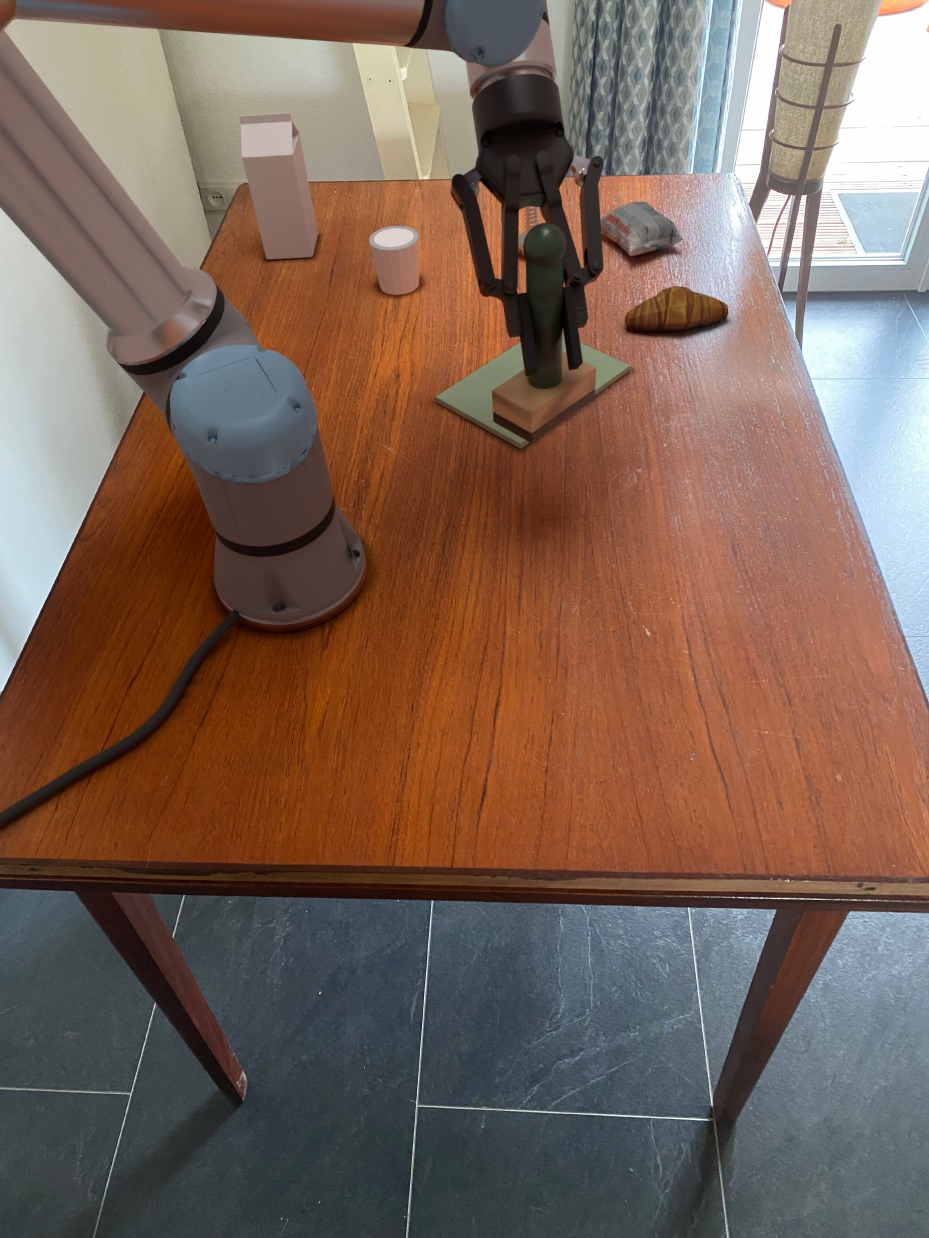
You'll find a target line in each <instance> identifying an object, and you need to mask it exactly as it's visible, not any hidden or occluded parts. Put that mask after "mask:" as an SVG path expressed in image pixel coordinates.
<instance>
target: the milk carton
mask: <svg viewBox="0 0 929 1238" xmlns="http://www.w3.org/2000/svg"><path fill="white" fill-rule="evenodd" d="M238 118H239V123H240V143H241V160H242V163H243V167H244V171H245V176H246V181H247V185H248V188H249V192H250V193H249V194H250V197H251V201H252V205H253V206H252V207H253V210H254V214H255V217H256V221H257V226H258V231H259V234H260V239H261V243H262V249H263V251H264V256H265V259H266V260H283V259H302V258H303V259H304V258H313V257H314V253H315V249H316V245H317V242H318V236H319V231H318V225H317V220H316V215H315V209H314V205H313V198H312V193H311V187H310V182H309V178H308V172H307V166H306V162H305V156H304V151H303V145H302V140H301V135H300V132H299V130H298V128H297V127H296V125H295V124H294V122H293V119H292V114H291V112H289V111H288V112H277V113H259V114H257V113H256V114H241V115H239V116H238Z"/></svg>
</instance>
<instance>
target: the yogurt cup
mask: <svg viewBox="0 0 929 1238" xmlns="http://www.w3.org/2000/svg"><path fill="white" fill-rule="evenodd" d="M419 237H420V235H419V232H418V231H417V230H416V229H415V228H412V227H410V226H403V225H390V226H386V227H382V228H380V229H378V230H376V231H374V232H372V234H371V235H370V236H369V240H368V243H369V247H370V251H371V255H372V260H373V263H374V267H375V272H376V277H377V281H378V284H379V288H380V289H381V291H382V292H383V293H385V294H387V295H393V296H398V295H399V296H401V295H407V294H410V293H412V292H413V291H416V289H417V288H418V287H419V286H420V251H419V250H420V247H419V246H420V242H419V241H420V240H419V239H420V238H419Z"/></svg>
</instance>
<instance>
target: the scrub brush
mask: <svg viewBox="0 0 929 1238" xmlns="http://www.w3.org/2000/svg"><path fill="white" fill-rule="evenodd" d="M566 250H567V241H566V237H565V235H564V233H563V232H562V230H561V229H560V228H559V227H557V226H556V225H554V224H551V223H546V222H541V223H538V225H535V226H534V227H532V228H531V229H530V230H529V231H528V233H527V234H526V236H525V239H524V243H523V252H524V255H525V256H524V258H525V293H526V292H527V295H528V302H529V309H530V316H531V323H532V330H533V337H534V344H535V351H536V358H537V365H538V370H537V372H536V373H535V374H534V375H533V376H525V370H522V371H521V372H519V373H518V374H516V375H515V376H513V377H512V378H510V379H509V380H507V381H506V382H504V383H503V384H501V385H500V386H498V387H497V388H495V389H494V390H492V405H493V422H494V423H496V424H498V425H500V426H501V427H503V428H505V429H507V430H509V431H510V432H512V433H514V434H516V435H517V436H519V437H521V438H523V439H525V440H526V441H528V442H530V443H529V444H534V443H535V442H536V441H538V440H539V439H540V438H542V437H543V436H545V435H546V434H547V433H549V432H551V431H552V430H554V428H556V427H557V426H559V425H560V424H561V423H563V422H564V421H566V420H567V419H569V418H570V417H571V416H573V415H574V414H575V413H577V412H578V411H580V410H581V409H583V408H584V407H586V406H587V405H588V404H590V403H591V402H592V401H594V400H595V397H596V395H595V383H596V367H595V366H593V365H590V364H588V363H586V362H584V361H583V363H582V364H581V365H580V366H579V368H578V369H575V370H569V368H568V361H567V354H566V352H564V351H562V342H563V335H564V333H563V294H564V287H565V284H564V256H565V254H566Z"/></svg>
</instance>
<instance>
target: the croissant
mask: <svg viewBox="0 0 929 1238" xmlns="http://www.w3.org/2000/svg"><path fill="white" fill-rule="evenodd" d="M728 316H729V305H728V304H727V303H725V302H723V301H721V299H718V298H716V297H714V296H710V295H707V294H704V293H702V292H696V291H694V290H692V289H690V288H689V287H687V286H678V285H673V286H668V287H666V288H662V289H661V290H660V291H659V292H657V293H656V295H654V296H651V297H650V298H647V299H646V300H644V301H642V302H641V303H639V304H637V305H635V306H634V307H633V308H631V309H630V310H629V311H627V312H626V314H625V317H624V325H625V327H626V328H627V329H631V330H635V331H643V332H657V331H667V332H668V331H670V332H680V331H681V332H682V331H685V330H689V329H694V328H697V327H705V326H709V325H713V324H717V323H719V322H721V321H724V320H726V319H727V318H728Z"/></svg>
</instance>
